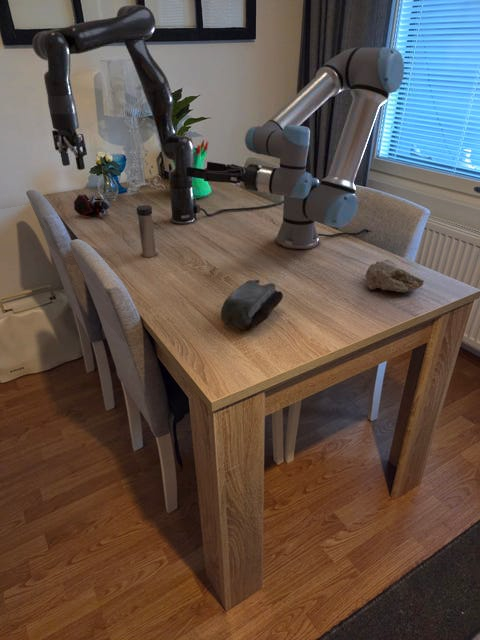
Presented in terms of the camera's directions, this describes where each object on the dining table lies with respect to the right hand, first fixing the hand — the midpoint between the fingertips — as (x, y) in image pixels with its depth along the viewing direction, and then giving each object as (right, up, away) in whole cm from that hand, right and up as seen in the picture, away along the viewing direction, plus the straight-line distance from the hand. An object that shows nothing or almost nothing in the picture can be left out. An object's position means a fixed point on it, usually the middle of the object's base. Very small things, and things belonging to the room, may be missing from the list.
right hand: (197, 168), depth 141 cm
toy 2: (-11, +13, +76) cm, 78 cm away
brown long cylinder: (-18, -25, +15) cm, 34 cm away
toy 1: (-49, -4, +49) cm, 70 cm away
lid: (-18, -11, +6) cm, 22 cm away
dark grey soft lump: (+17, -47, -21) cm, 55 cm away
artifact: (+59, -37, -5) cm, 70 cm away
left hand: (-39, 0, 0) cm, 39 cm away
